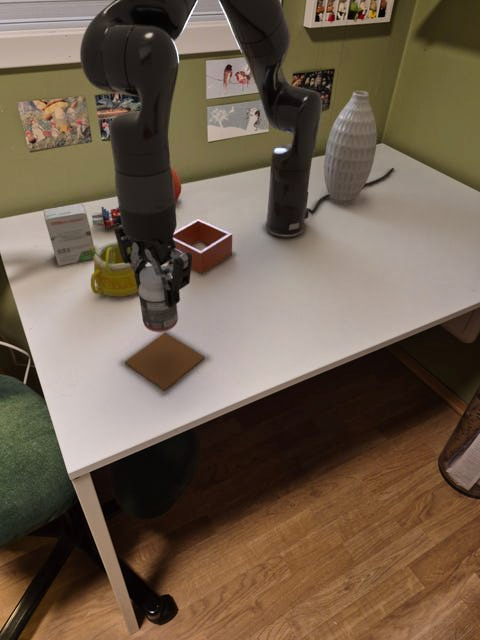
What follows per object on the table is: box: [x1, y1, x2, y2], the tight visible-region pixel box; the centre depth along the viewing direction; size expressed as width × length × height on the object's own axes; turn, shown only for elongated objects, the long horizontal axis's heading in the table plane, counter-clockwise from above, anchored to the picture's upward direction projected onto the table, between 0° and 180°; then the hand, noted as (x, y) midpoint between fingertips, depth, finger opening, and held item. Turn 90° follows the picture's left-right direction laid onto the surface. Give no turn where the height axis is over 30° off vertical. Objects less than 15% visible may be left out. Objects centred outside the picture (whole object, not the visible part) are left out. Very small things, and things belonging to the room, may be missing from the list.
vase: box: [323, 90, 378, 205], centre depth 122 cm, size 13×13×28 cm
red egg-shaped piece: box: [171, 167, 182, 203], centre depth 124 cm, size 8×8×11 cm
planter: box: [173, 218, 233, 275], centre depth 107 cm, size 11×11×6 cm
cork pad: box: [124, 331, 206, 392], centre depth 83 cm, size 10×10×1 cm
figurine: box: [91, 205, 122, 230], centre depth 117 cm, size 9×4×15 cm
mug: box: [90, 241, 139, 297], centre depth 95 cm, size 13×11×12 cm
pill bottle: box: [138, 264, 179, 333], centre depth 74 cm, size 6×6×10 cm
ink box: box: [43, 203, 96, 267], centre depth 103 cm, size 9×5×12 cm, turn 113°
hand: (157, 295), depth 74 cm, fingers closed on pill bottle, 5 cm apart
